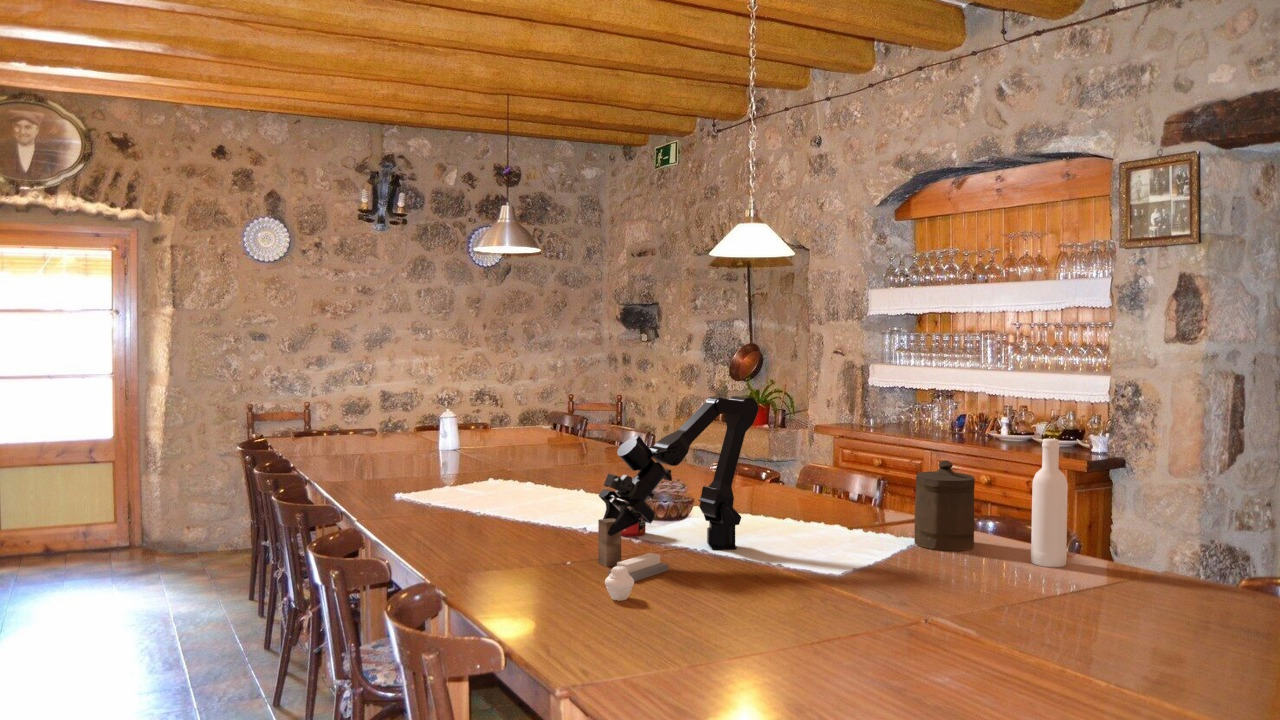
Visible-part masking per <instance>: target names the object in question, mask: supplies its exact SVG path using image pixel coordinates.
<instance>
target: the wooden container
mask: <svg viewBox="0 0 1280 720" xmlns="http://www.w3.org/2000/svg"><path fill="white" fill-rule="evenodd" d="M938 467H939V468H938V470H937V471H934V470H933V471H932V470H931V471H920V472H918V473H917V472H916V477H915V482H916V483H915V484H916V485H915V499H914V500H915V501H914V502H915V503H914V544H916V546H919V547H921V548H923V549H929V550H935V551H941V552H942V551H945V552H964V551H969V550H972V549H973V548H974V547H975V486H976V484H975V483H976V481H975V480H976V479H975V476H973V475H971V474H968V473H962V472H956V471H953V470H952V468H953V463H952V462H950V460H947V459H946V460H941V461H939V462H938Z"/></svg>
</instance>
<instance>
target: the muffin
mask: <svg viewBox="0 0 1280 720" xmlns="http://www.w3.org/2000/svg"><path fill="white" fill-rule="evenodd" d="M610 570H611V573H610V574H609V573H608V576H607V577H606V578H605V580H604V585H605V586H606V590H607V592H608V594H609V597H610V598H611V600H613V601H616V600H617V601H618V602H619V601H627V600H628V598H629V595H630V594H631V592H632V589H633V586H634V584H635V582H634V579H633V578H632V577H631V576H630V575H629V573H628V570H627V568H625V567H623V566H617V565H615V566H613V567H612V569H610ZM617 601H616V602H617Z"/></svg>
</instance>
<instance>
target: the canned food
mask: <svg viewBox="0 0 1280 720" xmlns="http://www.w3.org/2000/svg"><path fill="white" fill-rule="evenodd" d="M616 494H617V493H616ZM617 495H618V494H617ZM618 496H619V495H618ZM619 497H620V496H619ZM646 501H647V500H646ZM646 501H645V502H646ZM646 503H647V502H646ZM643 519H644V517H643V516H642V517H641V518H640V521H641V523H637V524H635V525H633V526H631V527H628V528H626V529H624V530H622V531H621V537H627V538H629V537H630V538H631V537H633V538H635V537H642V536H644V535H645V534H646V524H647V523H646V522H644V521H643Z"/></svg>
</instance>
